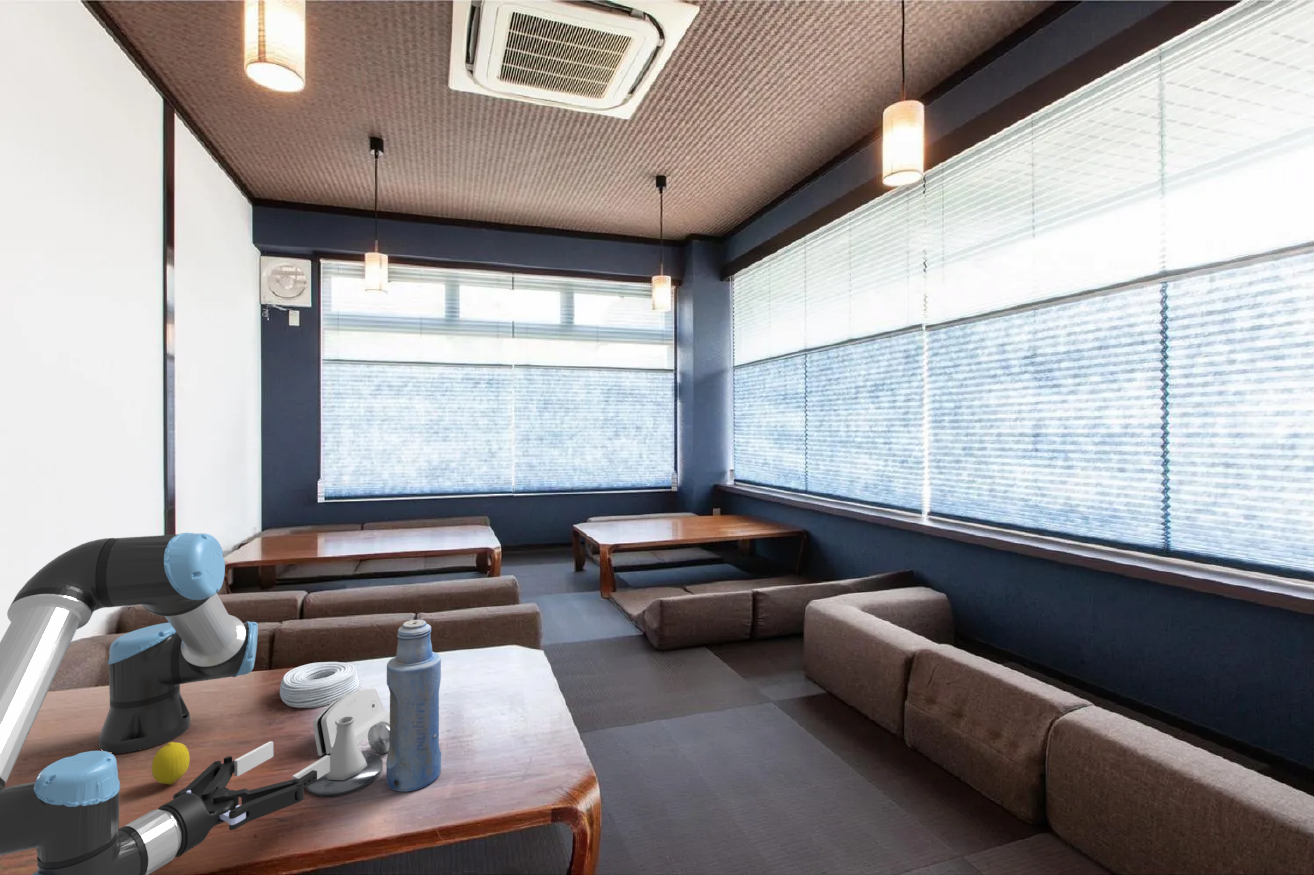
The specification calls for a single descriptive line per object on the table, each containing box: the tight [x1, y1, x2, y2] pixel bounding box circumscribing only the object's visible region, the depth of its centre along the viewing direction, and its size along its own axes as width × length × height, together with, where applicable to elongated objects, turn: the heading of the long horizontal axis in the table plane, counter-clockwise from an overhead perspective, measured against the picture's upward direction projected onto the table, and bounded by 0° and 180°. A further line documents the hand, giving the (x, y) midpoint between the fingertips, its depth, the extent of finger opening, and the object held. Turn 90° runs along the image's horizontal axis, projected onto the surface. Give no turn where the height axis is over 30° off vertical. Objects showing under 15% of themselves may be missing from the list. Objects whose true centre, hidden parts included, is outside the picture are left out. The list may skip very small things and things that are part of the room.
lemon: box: [151, 741, 191, 786], centre depth 111 cm, size 6×6×8 cm
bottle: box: [385, 619, 442, 792], centre depth 113 cm, size 10×10×30 cm
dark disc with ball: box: [306, 721, 390, 798], centre depth 120 cm, size 13×26×6 cm, turn 160°
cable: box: [279, 661, 360, 709], centre depth 150 cm, size 18×18×6 cm
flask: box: [324, 716, 367, 780], centre depth 114 cm, size 7×7×10 cm
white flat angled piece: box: [312, 688, 390, 757], centre depth 129 cm, size 17×5×10 cm, turn 166°
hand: (299, 755), depth 105 cm, fingers open, 13 cm apart
